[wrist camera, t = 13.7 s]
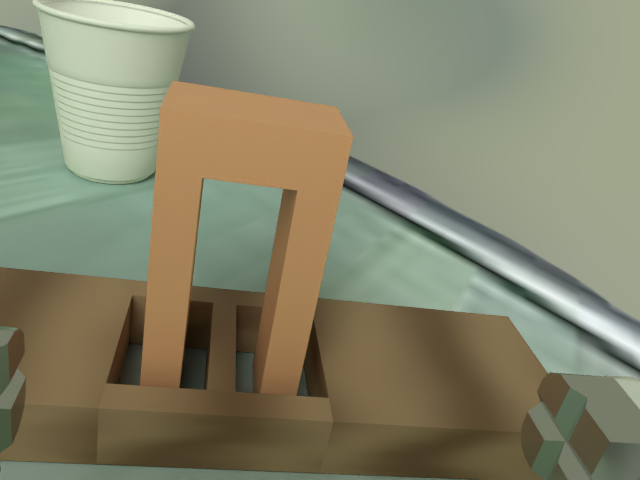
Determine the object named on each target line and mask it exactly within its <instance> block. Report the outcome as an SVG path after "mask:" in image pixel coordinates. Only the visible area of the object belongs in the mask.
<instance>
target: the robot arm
mask: <svg viewBox="0 0 640 480" xmlns="http://www.w3.org/2000/svg"><path fill="white" fill-rule="evenodd" d="M24 354H25V344H24V333H23V332H22V330H21V329H20V328H15V327H5V326H0V452H2V451H3V450H5V449H6V448H8V447H9V446H11V445H12V444H13V441H14V439H15V436H16V434H17V432H18V429H19V426H20V422H21V418H22V415H23V411H24V406H25V396H26V377H25V376H24V375H23V374H22V373H21V372H20V371H19V369H18V366H19V364H20V362H21V360H22V358H23V356H24ZM537 393H538V396H539V399H540V403H538V404H537V405H536V406H534V407H533V408H532V409H530V410H529V411H528V412H527V414H526V417H525V419H524V422H523V425H522V427H521V445H522V449H523V453H524V457H525V459H526V461H527V463H528V465H529V467H530V468H531V470H533V471H534V472H535V473H536V474H538V475H539V476H540V477H541V478H543V479H544V480H640V381H639V380H637V379H635V378H633V377H622V376H590V375H577V374H565V373H552V372H550V373H549V374H548V375H547V376H545V377H544V378H543V379H542V381H541V384H540V386H539V388H538V390H537ZM0 471H1V468H0Z"/></svg>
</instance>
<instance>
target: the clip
mask: <svg viewBox="0 0 640 480" xmlns="http://www.w3.org/2000/svg"><path fill="white" fill-rule="evenodd" d="M352 140H353V135H352V134H351V132H350V130H349V128H348V126H347V125H346V123H345V121H344V119H343V117H342V116H341V114H340V112H339V110H338V109H337V107H333V106H328V105H321V104H315V103H309V102H303V101H296V100H291V99H284V98H277V97H272V96H266V95H258V94H253V93H247V92H241V91H234V90H228V89H222V88H216V87H210V86H204V85H197V84H191V83H185V82H179V81H172V83H171V85H170V87H169V90H168V92H167V94H166V96H165V98H164V100H163V103H162V105H161V107H160V117H159V131H158V144H157V158H156V172H155V186H154V199H153V213H152V227H151V241H150V254H149V268H148V282H147V296H146V309H145V323H144V337H143V351H142V364H141V378H140V386H154V387H169V388H180V384H181V377H182V369H183V362H184V353H185V343H186V334H187V325H188V316H189V307H190V298H191V289H192V280H193V271H194V262H195V253H196V244H197V235H198V226H199V217H200V208H201V199H202V190H203V181H204V178H206V179H213V180H221V181H228V182H236V183H243V184H251V185H259V186H266V187H274V188H281V189H283V194H282V199H281V205H280V211H279V217H278V222H277V228H276V234H275V240H274V245H273V251H272V257H271V263H270V268H269V274H268V280H267V286H266V291H265V297H264V303H263V309H262V314H261V320H260V326H259V332H258V338H257V343H256V349H255V355H254V361H253V366H252V372H253V393H262V394H277V395H292V396H297V391H298V387H299V382H300V377H301V373H302V368H303V364H304V359H305V355H306V350H307V346H308V341H309V336H310V332H311V327H312V323H313V318H314V314H315V309H316V305H317V300H318V295H319V291H320V286H321V282H322V277H323V273H324V268H325V264H326V259H327V254H328V250H329V245H330V241H331V236H332V232H333V227H334V223H335V218H336V213H337V209H338V204H339V200H340V195H341V191H342V186H343V182H344V177H345V172H346V168H347V163H348V159H349V154H350V150H351V145H352Z"/></svg>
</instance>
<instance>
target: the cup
mask: <svg viewBox="0 0 640 480" xmlns="http://www.w3.org/2000/svg"><path fill="white" fill-rule="evenodd" d="M32 3H33V5H34V7H35V8H37V10H38V16H39V21H40V27H41V32H42V38H43V43H44V49H45V54H46V60H47V64H48V70H49V73H50V80H51V86H52V91H53V96H54V102H55V108H56V115H57V118H58V124H59V130H60V137H61V143H62V148H63V154H64V159H65V164H66V166H67V167H68V168H69V169H70V170H72V172H73V173H74V174H76V175H77V176H79V177H81V178H83V179H86V180H89V181H94V182H98V183H105V184H130V183H136V182H139V181H142V180H144V179H146V178H147V177H148V176H150V175H151V174H152V173H154V171H155V169H156V158H157V144H158V131H159V117H160V107H161V105H162V103H163V100H164V98H165V96H166V94H167V92H168V90H169V87H170V85H171V83H172V81H178V78H179V75H180V71H181V67H182V63H183V59H184V55H185V51H186V48H187V43H188V40H189V36H190V32H191V31H193V29H194V28H195V25H194V23H193V22H192V21H190V20H189V19H187V18H184V17H182V16H179V15H176V14H173V13H170V12H167V11H163V10H159V9H155V8H151V7H146V6H141V5H136V4H131V3H125V2H120V1H114V0H33V1H32Z"/></svg>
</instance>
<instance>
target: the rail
mask: <svg viewBox="0 0 640 480" xmlns="http://www.w3.org/2000/svg"><path fill="white" fill-rule="evenodd" d="M146 296H147V282H146V281H136V280H126V279H115V278H105V277H95V276H85V275H74V274H64V273H54V272H43V271H33V270H23V269H13V268H2V267H0V326H5V327H15V328H20V329H21V330H22V332H23V333H24V344H25V354H24V356H23V358H22V360H21V362H20V364H19V366H18V369H19V371H20V372H21V373H22V374H23V375H24V376H25V377H26V396H25V406H24V411H23V415H22V418H21V422H20V426H19V429H18V432H17V434H16V436H15V439H14V441H13V444H12V445H11V446H9V447H8V448H6V449H5V450H3V451H2V452H0V460H6V461H31V462H56V463H80V464H105V465H130V466H155V467H180V468H205V469H230V470H254V471H279V472H304V473H329V474H354V475H379V476H404V477H429V478H453V479H478V480H544V479H543V478H541V477H540V476H539V475H538V474H536V473H535V472H534V471H533V470H531V468H530V467H529V465H528V463H527V461H526V459H525V457H524V453H523V449H522V445H521V427H522V425H523V422H524V419H525V417H526V414H527V412H528V411H529V410H530V409H532V408H533V407H534V406H536V405H537V404H538V403H540V399H539V396H538V393H537V390H538V388H539V386H540V384H541V381H542V379H543V378H544V377H545V376H547V375H548V373H547V372H546V370H545V369H544V367H543V366H542V365H541V363H540V362H539V360H538V359H537V357H536V356H535V355H534V353H533V352H532V350H531V349H530V347H529V346H528V345H527V343H526V342H525V340H524V339H523V337H522V336H521V335H520V333H519V332H518V330H517V329H516V327H515V326H514V325H513V323H512V322H511V320H510V319H509V317H506V316H496V315H485V314H475V313H465V312H455V311H444V310H434V309H424V308H414V307H403V306H393V305H383V304H372V303H362V302H352V301H342V300H331V299H321V298H318V300H317V305H316V309H315V314H314V318H313V323H312V327H311V332H310V336H309V341H308V346H307V350H306V355H305V359H304V369H305V376H306V383H307V389H308V396H309V397H308V396H292V395H277V394H262V393H246V392H236V351H239V352H252V353H255V349H256V343H257V338H258V332H259V326H260V320H261V314H262V309H263V303H264V297H265V293H259V292H249V291H239V290H228V289H218V288H208V287H198V286H192V289H191V298H190V307H189V316H188V325H187V334H186V343H185V347H188V348H201V349H207V358H206V370H205V383H204V390H200V389H185V388H169V387H154V386H138V385H123V384H118V383H119V379H120V375H121V372H122V368H123V364H124V361H125V357H126V353H127V349H128V346H129V343H136V344H143V337H144V323H145V309H146Z"/></svg>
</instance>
